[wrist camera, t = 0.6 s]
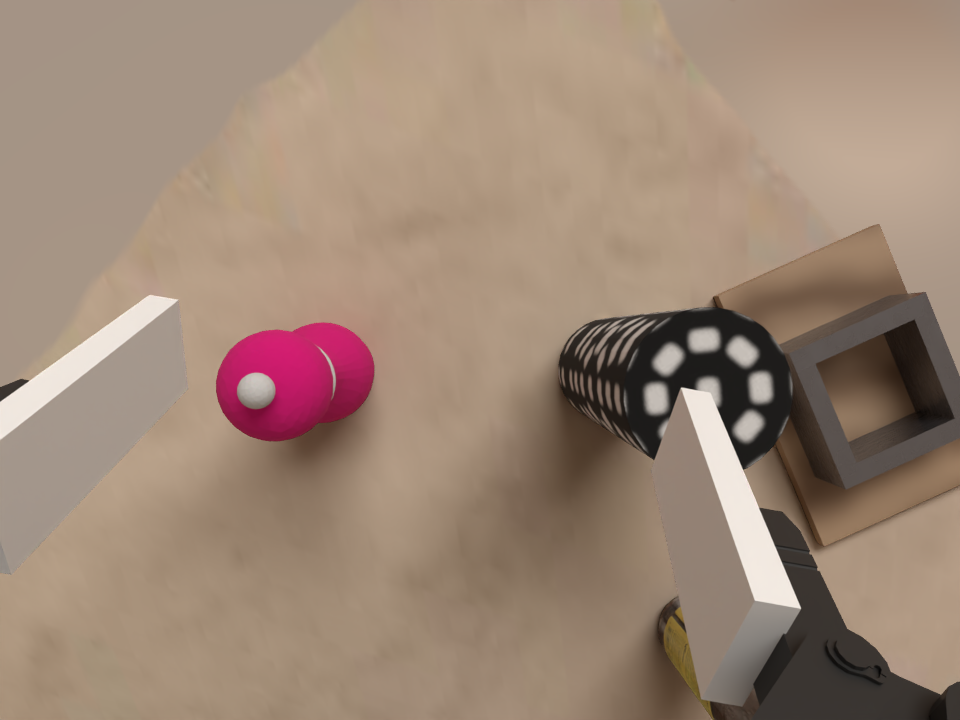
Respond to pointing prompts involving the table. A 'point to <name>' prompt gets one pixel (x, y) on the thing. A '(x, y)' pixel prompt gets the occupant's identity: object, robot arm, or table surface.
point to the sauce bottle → (679, 653)
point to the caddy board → (846, 379)
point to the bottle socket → (923, 368)
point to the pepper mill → (293, 380)
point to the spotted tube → (679, 375)
